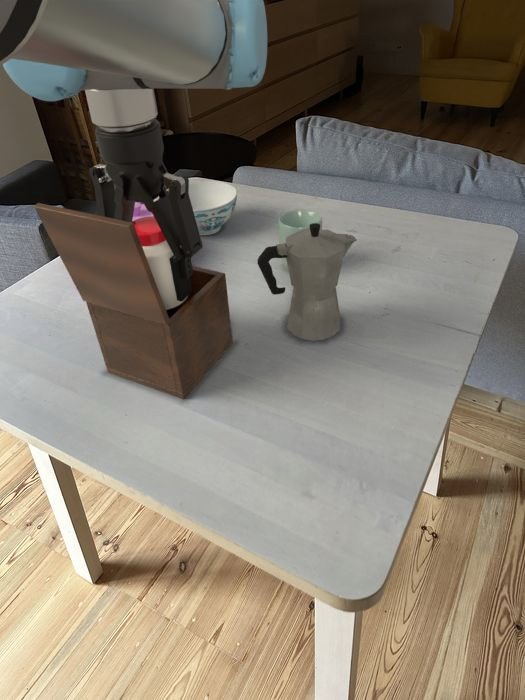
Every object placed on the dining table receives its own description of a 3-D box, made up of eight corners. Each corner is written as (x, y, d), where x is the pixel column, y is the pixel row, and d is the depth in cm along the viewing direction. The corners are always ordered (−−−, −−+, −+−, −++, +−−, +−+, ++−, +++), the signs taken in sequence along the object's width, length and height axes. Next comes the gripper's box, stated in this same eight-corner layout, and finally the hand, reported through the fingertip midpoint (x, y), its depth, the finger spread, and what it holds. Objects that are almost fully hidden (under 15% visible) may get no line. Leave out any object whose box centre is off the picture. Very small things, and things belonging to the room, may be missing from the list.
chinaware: (240, 211, 123) (238, 179, 119) (239, 242, 112) (236, 207, 107) (176, 215, 124) (170, 182, 119) (167, 246, 112) (161, 211, 107)
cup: (329, 265, 103) (330, 217, 96) (301, 281, 99) (301, 232, 92) (299, 252, 107) (298, 205, 101) (271, 267, 103) (269, 219, 97)
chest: (162, 322, 91) (147, 254, 83) (233, 343, 86) (225, 273, 77) (107, 372, 82) (85, 301, 73) (183, 399, 76) (169, 326, 68)
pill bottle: (199, 289, 78) (189, 218, 71) (166, 317, 73) (151, 244, 66) (158, 276, 81) (144, 208, 74) (123, 302, 76) (105, 231, 69)
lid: (38, 202, 62) (33, 206, 62) (133, 222, 57) (129, 226, 56) (86, 297, 73) (83, 300, 73) (170, 321, 68) (166, 325, 67)
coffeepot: (340, 302, 93) (345, 204, 82) (362, 333, 86) (371, 230, 75) (254, 319, 90) (247, 220, 79) (270, 353, 83) (265, 249, 72)
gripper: (219, 120, 60) (236, 291, 75) (81, 106, 68) (120, 263, 83) (181, 141, 55) (207, 320, 70) (37, 123, 63) (87, 287, 78)
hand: (160, 289), depth 76 cm, fingers closed on pill bottle, 8 cm apart
